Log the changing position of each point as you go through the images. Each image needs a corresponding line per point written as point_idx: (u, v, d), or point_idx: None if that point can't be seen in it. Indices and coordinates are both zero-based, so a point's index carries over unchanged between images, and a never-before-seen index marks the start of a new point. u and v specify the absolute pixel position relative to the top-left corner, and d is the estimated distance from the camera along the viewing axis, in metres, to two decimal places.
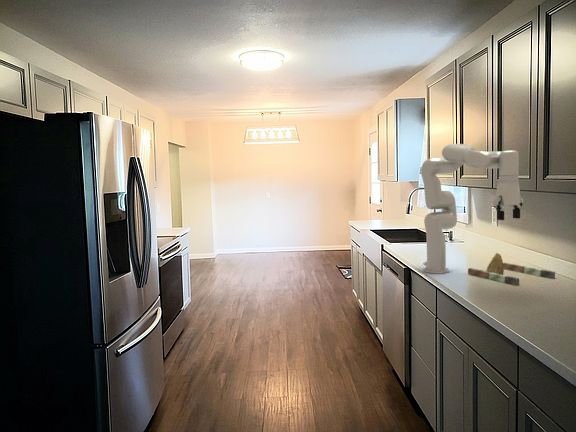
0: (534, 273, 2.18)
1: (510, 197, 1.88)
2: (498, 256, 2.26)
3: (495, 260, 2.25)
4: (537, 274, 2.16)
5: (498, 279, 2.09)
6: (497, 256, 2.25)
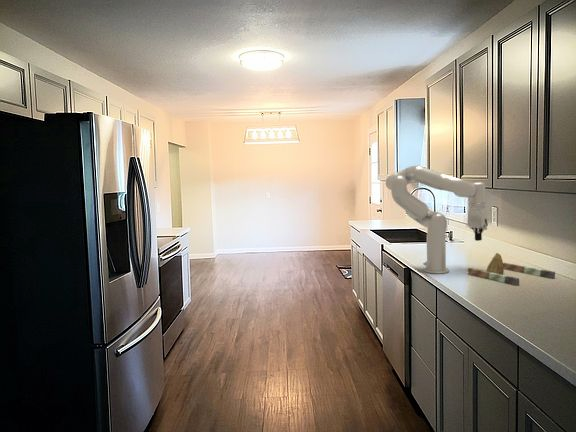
0: (534, 273, 2.18)
1: None
2: (498, 256, 2.26)
3: (495, 260, 2.25)
4: (537, 274, 2.16)
5: (498, 279, 2.09)
6: (497, 256, 2.25)
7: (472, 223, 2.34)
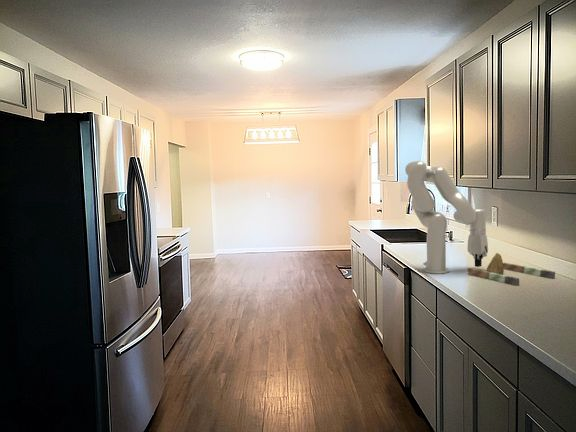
0: (534, 273, 2.18)
1: None
2: (498, 256, 2.26)
3: (495, 260, 2.25)
4: (537, 274, 2.16)
5: (498, 279, 2.09)
6: (497, 256, 2.25)
7: (472, 249, 2.35)
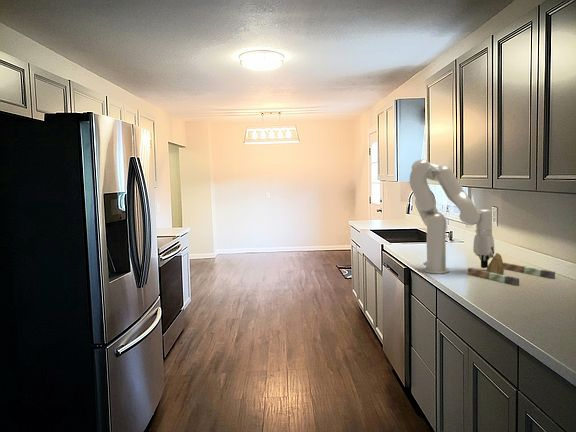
0: (534, 273, 2.18)
1: None
2: (498, 256, 2.26)
3: (495, 260, 2.25)
4: (537, 274, 2.16)
5: (498, 279, 2.09)
6: (497, 256, 2.25)
7: (478, 250, 2.31)
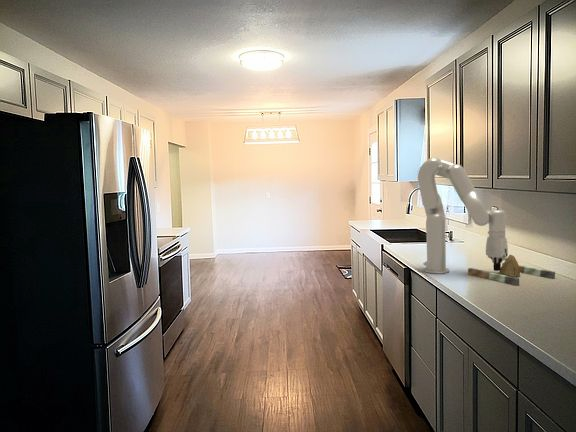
0: (534, 273, 2.18)
1: None
2: (513, 258, 2.20)
3: (510, 262, 2.19)
4: (537, 274, 2.16)
5: (498, 279, 2.09)
6: (512, 257, 2.20)
7: (491, 252, 2.24)
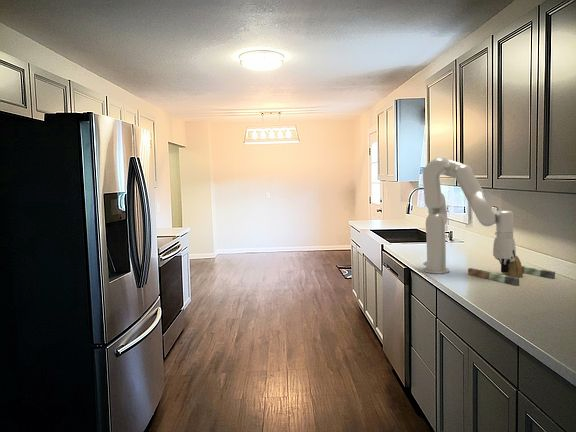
0: (534, 273, 2.18)
1: None
2: (516, 258, 2.19)
3: (513, 262, 2.18)
4: (537, 274, 2.16)
5: (498, 279, 2.09)
6: (515, 258, 2.19)
7: (498, 254, 2.20)
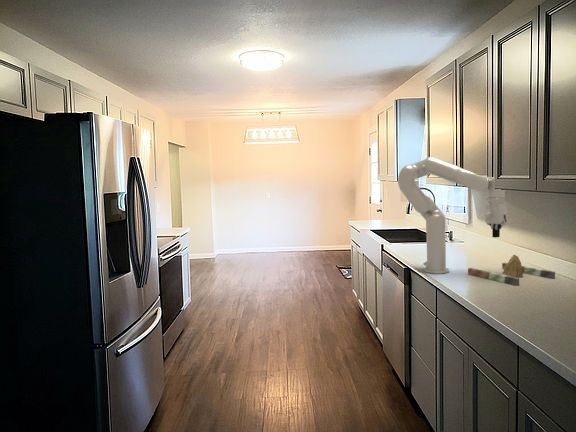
0: (534, 273, 2.18)
1: None
2: (516, 258, 2.19)
3: (513, 262, 2.18)
4: (537, 274, 2.16)
5: (498, 279, 2.09)
6: (515, 258, 2.19)
7: (490, 219, 2.23)
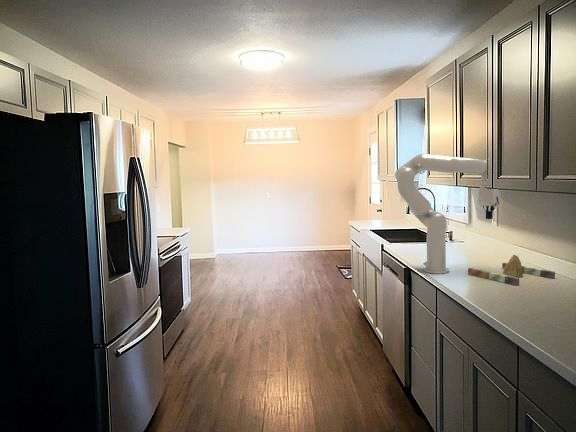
0: (534, 273, 2.18)
1: None
2: (516, 258, 2.19)
3: (513, 262, 2.18)
4: (537, 274, 2.16)
5: (498, 279, 2.09)
6: (515, 258, 2.19)
7: (483, 201, 2.31)
